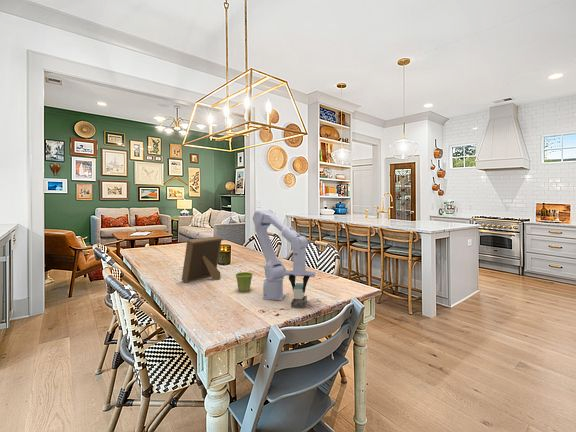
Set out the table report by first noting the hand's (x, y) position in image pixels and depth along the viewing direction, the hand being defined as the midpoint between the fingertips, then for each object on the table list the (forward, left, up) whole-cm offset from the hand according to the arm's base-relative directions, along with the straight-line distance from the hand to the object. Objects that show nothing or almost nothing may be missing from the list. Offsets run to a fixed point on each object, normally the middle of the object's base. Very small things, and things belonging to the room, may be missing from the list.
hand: (299, 291), depth 139 cm
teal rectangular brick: (0, 0, -2) cm, 2 cm away
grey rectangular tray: (0, +1, -6) cm, 6 cm away
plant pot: (-32, +14, -6) cm, 35 cm away
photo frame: (-62, +28, -6) cm, 68 cm away
